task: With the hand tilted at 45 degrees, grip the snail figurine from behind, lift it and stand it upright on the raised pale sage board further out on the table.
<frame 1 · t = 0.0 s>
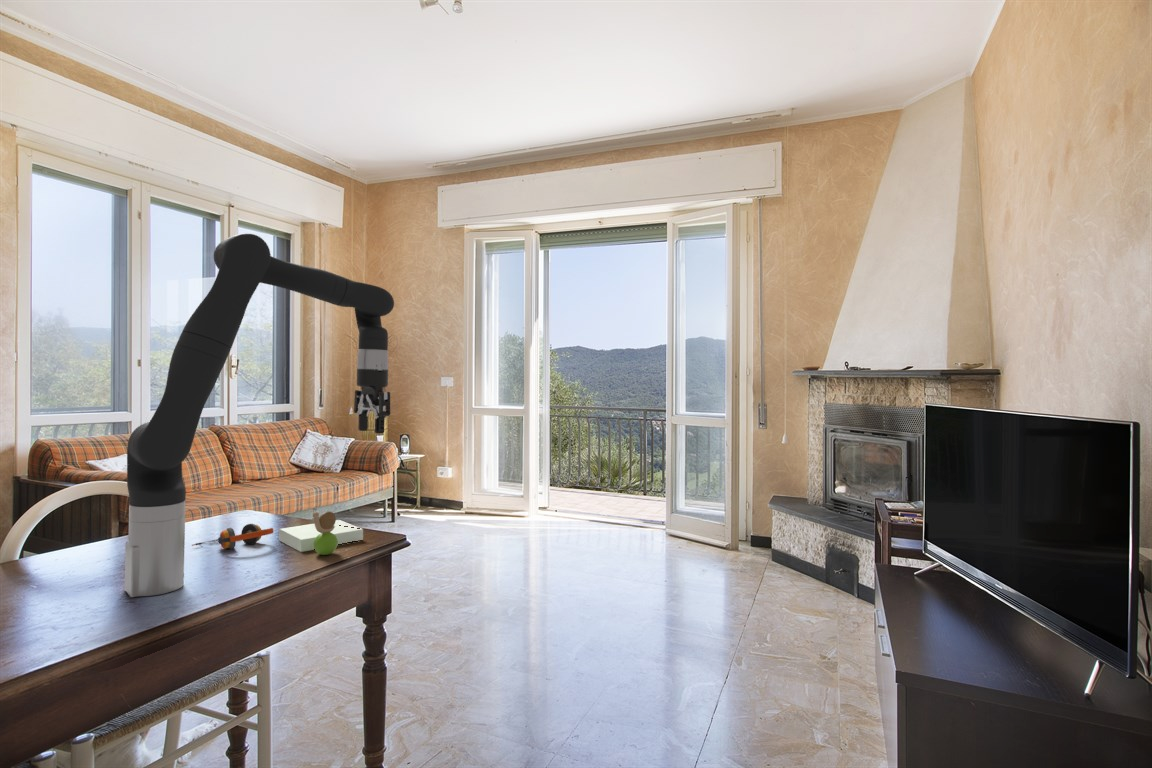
hand: (371, 432, 152), 29 cm above the table, tool pointing down, fingers open, 8 cm apart
headphones: (237, 546, 151), on the table
sage board: (321, 540, 157), on the table
snail figurine: (323, 555, 145), on the table
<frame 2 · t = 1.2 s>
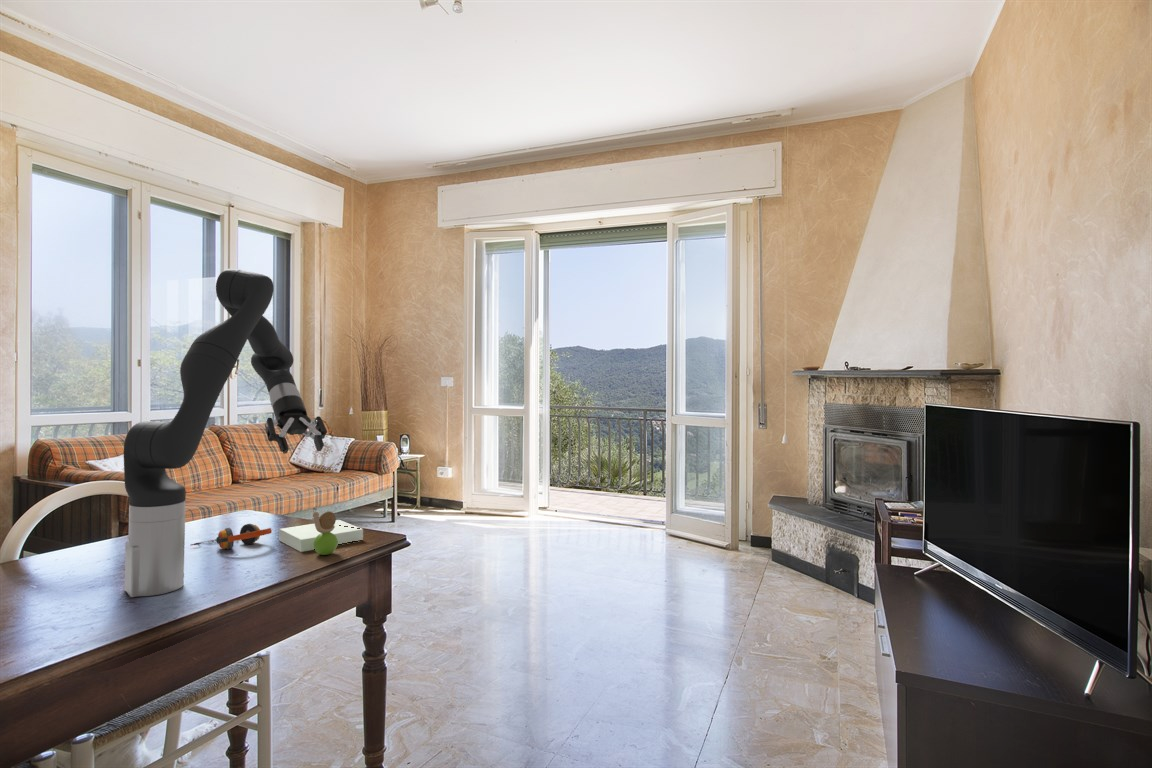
hand: (303, 450, 154), 24 cm above the table, tool tilted 45°, fingers open, 8 cm apart
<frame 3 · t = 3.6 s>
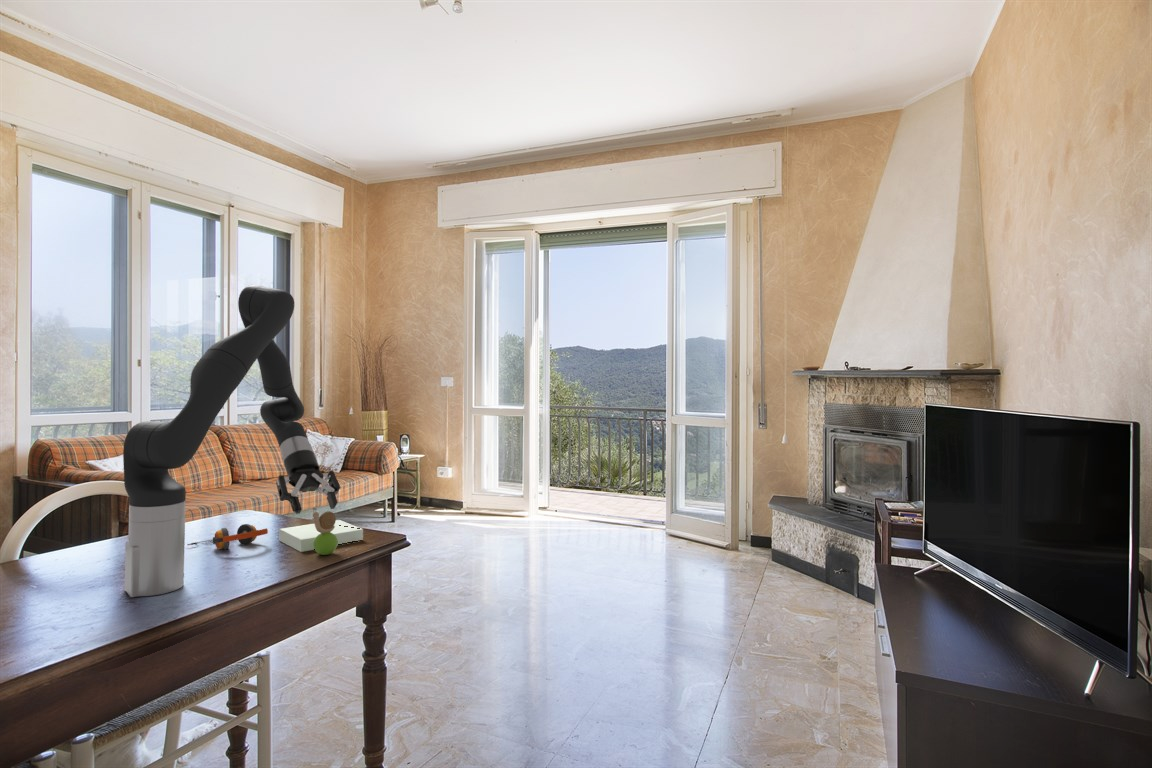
hand: (316, 509, 148), 10 cm above the table, tool tilted 45°, fingers open, 8 cm apart
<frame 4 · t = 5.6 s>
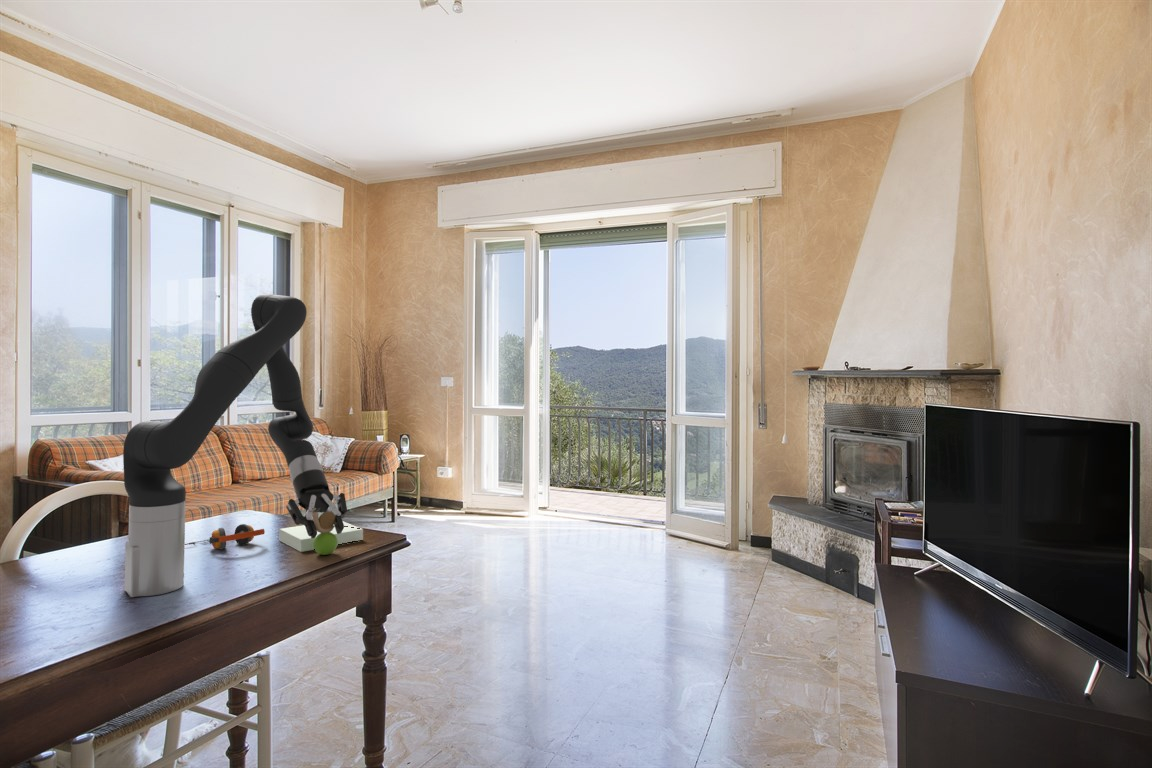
hand: (327, 533, 144), 5 cm above the table, tool tilted 45°, fingers closed on snail figurine, 5 cm apart
snail figurine: (323, 555, 145), on the table, touching gripper
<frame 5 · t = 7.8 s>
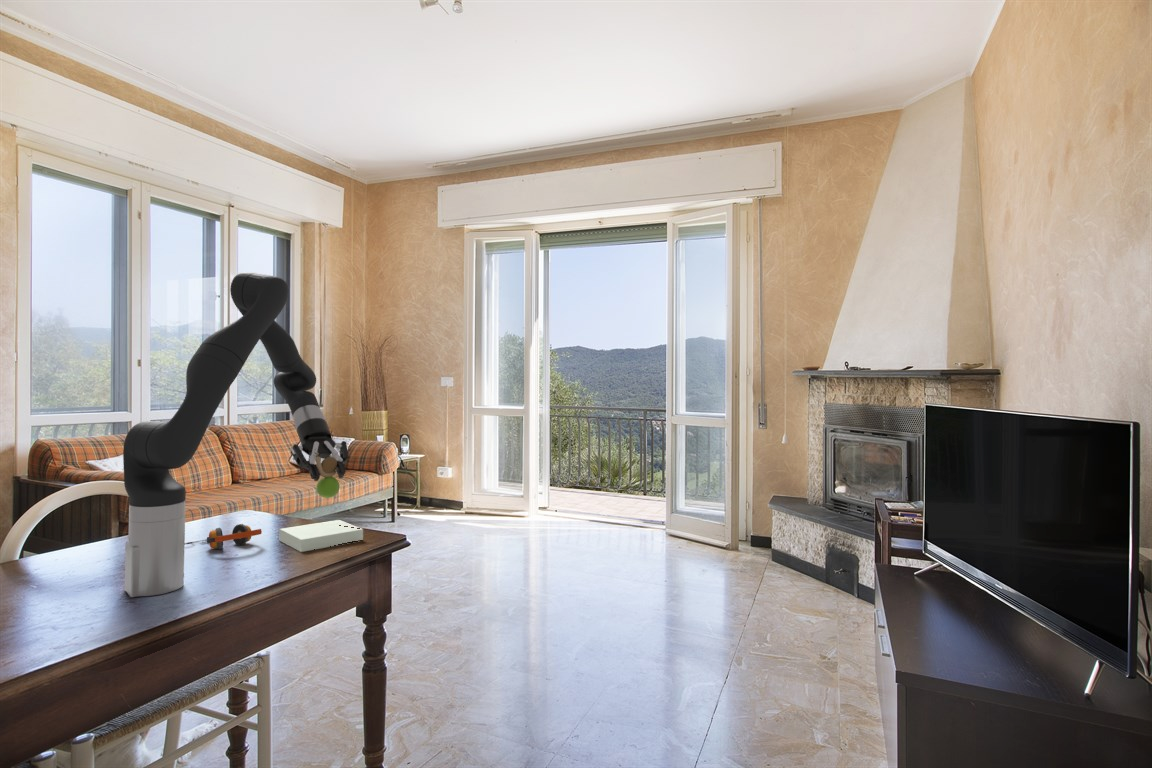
hand: (330, 477, 151), 18 cm above the table, tool tilted 45°, fingers closed on snail figurine, 5 cm apart
snail figurine: (326, 498, 152), point 12 cm above the table, touching gripper
when the fingers open (10 cm above the table, at t = 10.2 s): snail figurine drops 1 cm, resting on sage board.
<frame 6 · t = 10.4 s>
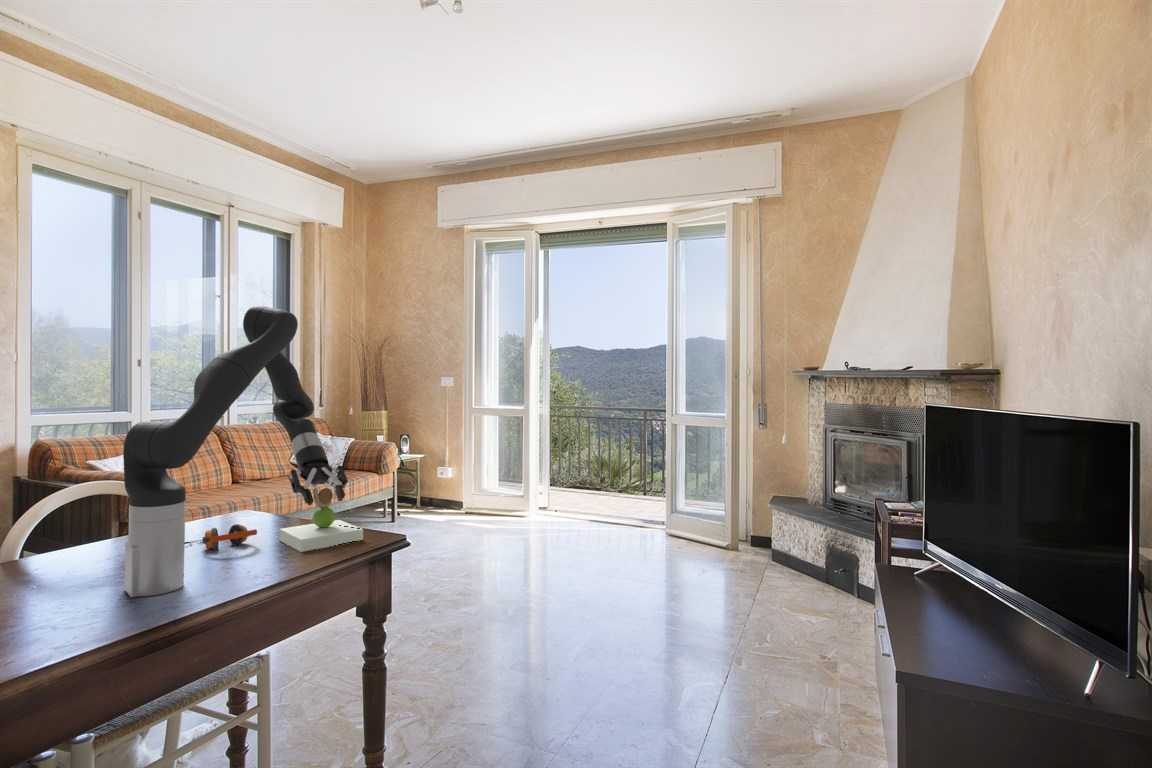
hand: (326, 501, 158), 10 cm above the table, tool tilted 45°, fingers open, 7 cm apart
snail figurine: (322, 528, 159), point 3 cm above the table, touching sage board
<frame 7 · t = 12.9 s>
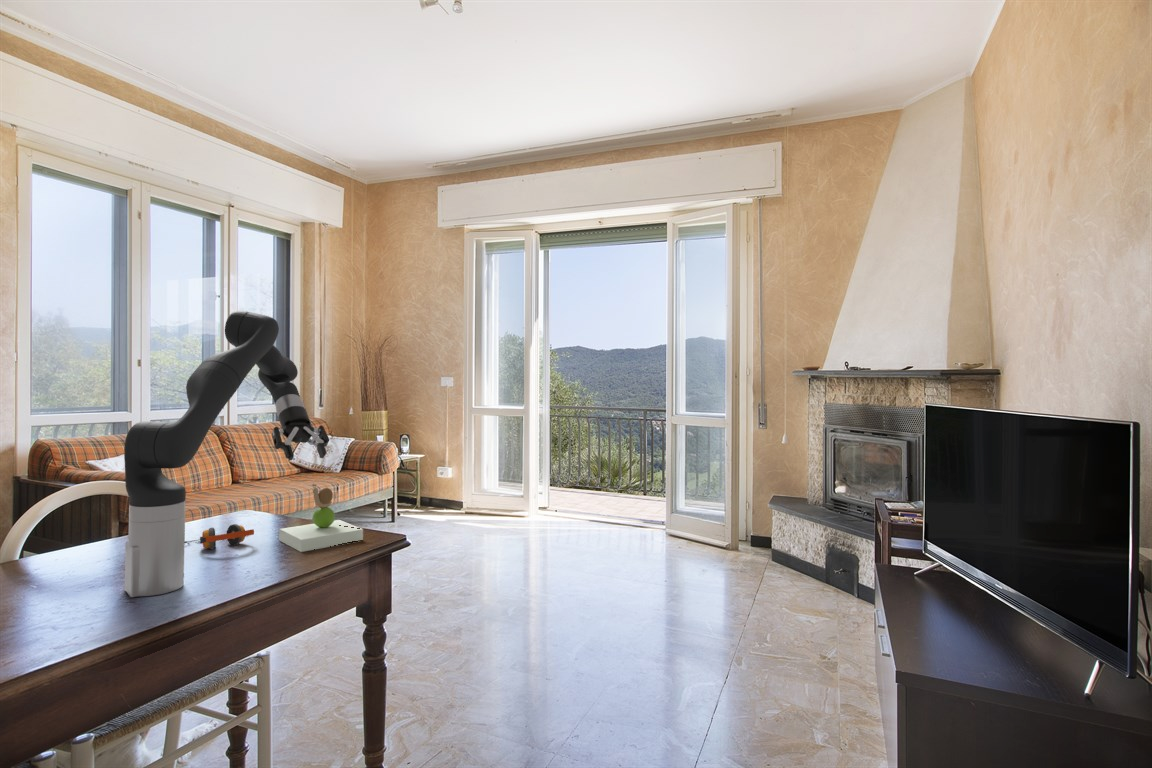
hand: (307, 457, 166), 21 cm above the table, tool tilted 45°, fingers open, 8 cm apart
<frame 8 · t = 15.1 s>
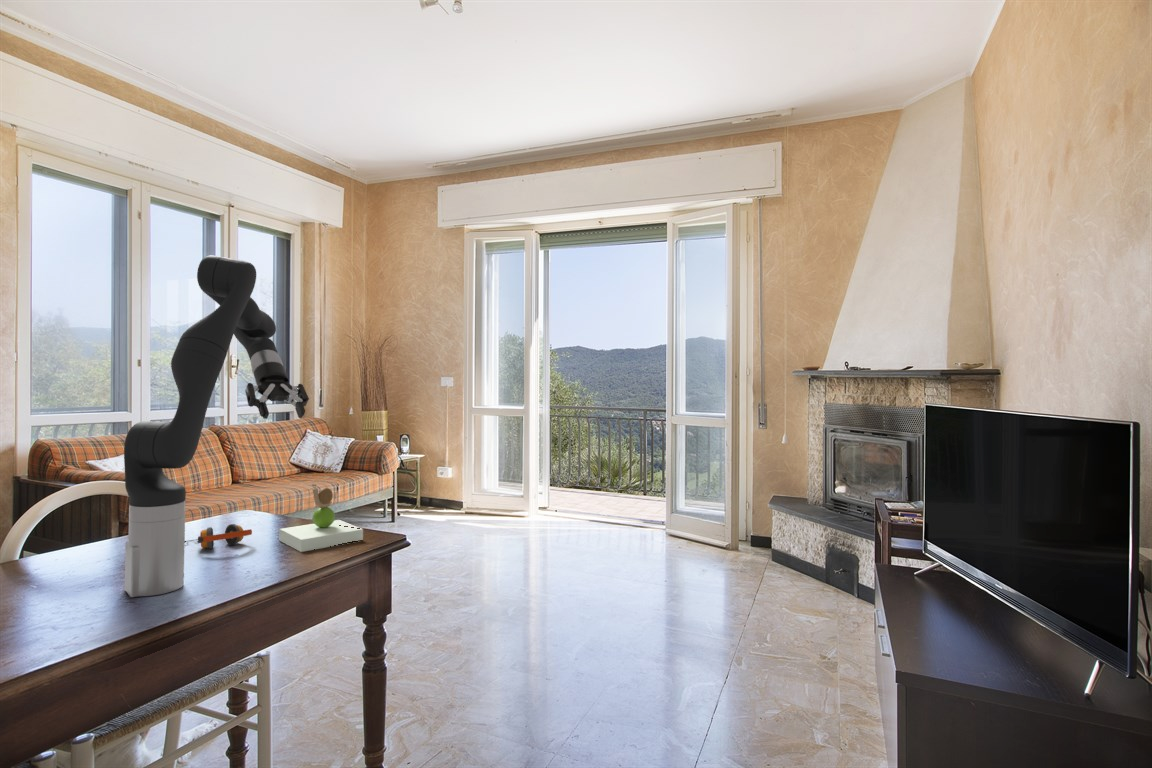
hand: (284, 416, 153), 33 cm above the table, tool tilted 45°, fingers open, 8 cm apart
at the end: snail figurine inside the target area on the sage board (1.3 cm from its centre), point 2.8 cm above the sage board's base; snail figurine tilted 0°; the gripper is holding nothing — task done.
